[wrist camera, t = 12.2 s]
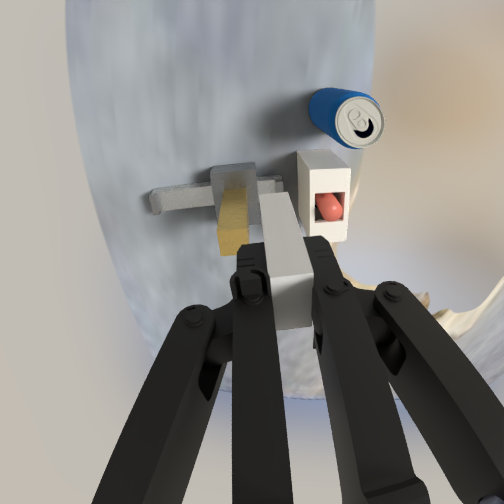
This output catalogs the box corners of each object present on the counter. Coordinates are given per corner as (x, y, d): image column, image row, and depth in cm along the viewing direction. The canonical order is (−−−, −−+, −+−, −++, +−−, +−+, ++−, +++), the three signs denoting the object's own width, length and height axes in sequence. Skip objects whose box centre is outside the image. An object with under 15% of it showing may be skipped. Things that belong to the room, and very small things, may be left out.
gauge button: (308, 179, 40) (321, 202, 33) (326, 178, 40) (343, 201, 33) (308, 196, 41) (321, 222, 35) (326, 195, 41) (342, 220, 35)
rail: (154, 188, 42) (148, 196, 40) (280, 174, 42) (283, 181, 39) (158, 206, 44) (153, 215, 41) (281, 193, 43) (284, 201, 41)
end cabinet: (296, 150, 40) (309, 169, 32) (330, 149, 40) (350, 168, 32) (298, 213, 45) (309, 243, 38) (329, 211, 45) (346, 240, 38)
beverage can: (326, 139, 39) (354, 163, 29) (297, 105, 36) (318, 116, 26) (359, 114, 37) (398, 130, 27) (333, 78, 34) (366, 80, 24)
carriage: (212, 165, 40) (197, 210, 28) (254, 160, 40) (260, 204, 28) (220, 215, 45) (210, 276, 32) (259, 211, 45) (265, 271, 32)
